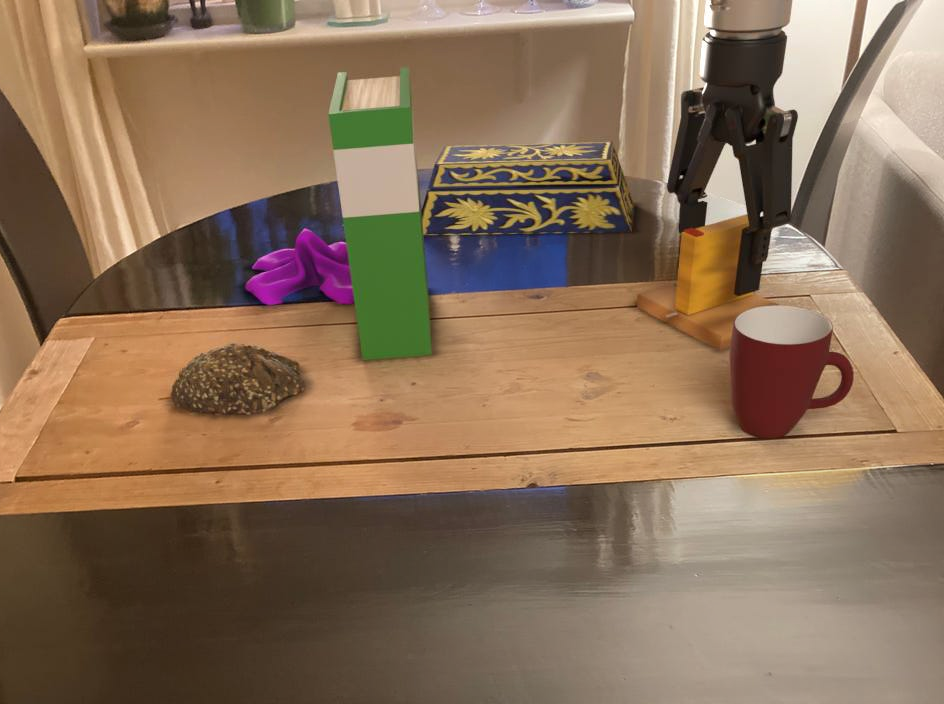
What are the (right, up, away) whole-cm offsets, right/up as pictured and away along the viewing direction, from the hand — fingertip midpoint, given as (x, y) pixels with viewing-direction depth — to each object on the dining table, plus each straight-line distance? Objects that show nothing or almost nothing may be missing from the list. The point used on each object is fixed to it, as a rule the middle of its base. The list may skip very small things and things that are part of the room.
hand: (716, 278), depth 102 cm
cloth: (-45, +8, +20) cm, 50 cm away
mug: (+2, -20, -15) cm, 25 cm away
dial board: (0, -3, +3) cm, 5 cm away
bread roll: (-50, -13, -3) cm, 52 cm away
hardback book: (-34, -3, +7) cm, 35 cm away
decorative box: (-18, +19, +30) cm, 40 cm away
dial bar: (0, -2, +2) cm, 2 cm away
